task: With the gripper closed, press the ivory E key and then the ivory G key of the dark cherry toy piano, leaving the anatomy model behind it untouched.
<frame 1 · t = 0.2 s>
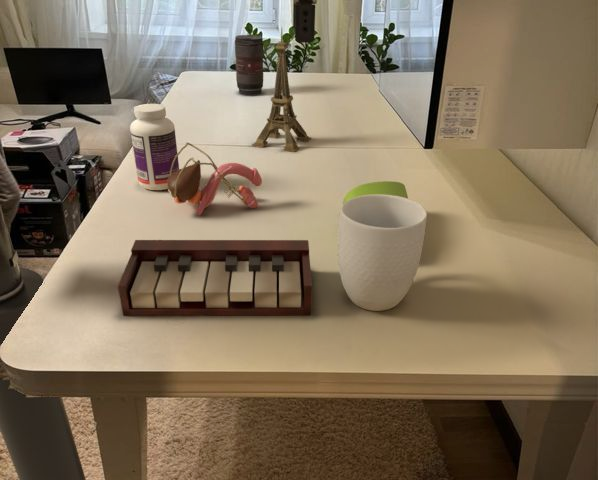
hand: (303, 35, 71), 31 cm above the table, tool pointing down, fingers open, 8 cm apart
anatomy model: (217, 208, 108), on the table
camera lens: (250, 93, 176), on the table
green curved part: (380, 237, 99), on the table
key E: (195, 280, 81), point 3 cm above the table, slide at 0.0 cm, touching piano
piano: (220, 293, 83), on the table
pill bottle: (160, 185, 116), on the table
key G: (242, 280, 81), point 3 cm above the table, slide at 0.0 cm, touching piano
mug: (377, 296, 84), on the table
eiffel tower: (282, 143, 139), on the table
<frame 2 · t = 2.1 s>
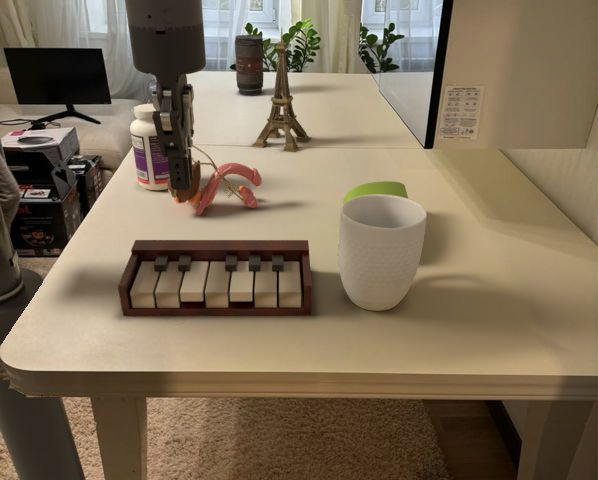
hand: (182, 183, 70), 17 cm above the table, tool pointing down, fingers closed
nothing on the table moved.
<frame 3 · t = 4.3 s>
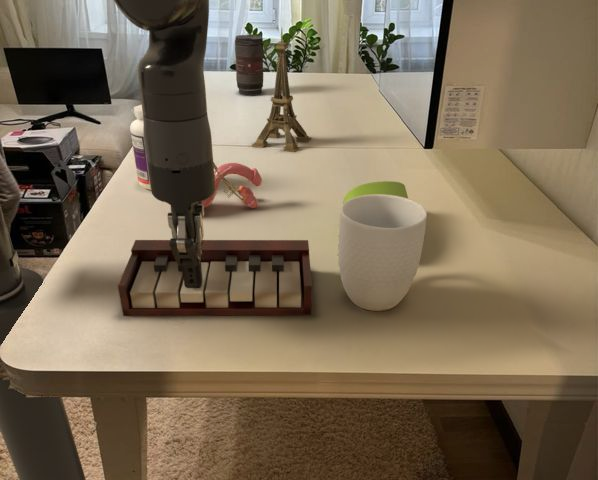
hand: (193, 285, 79), 3 cm above the table, tool pointing down, fingers closed
key E: (195, 281, 81), point 3 cm above the table, slide at -0.1 cm, touching gripper
everything else where it was.
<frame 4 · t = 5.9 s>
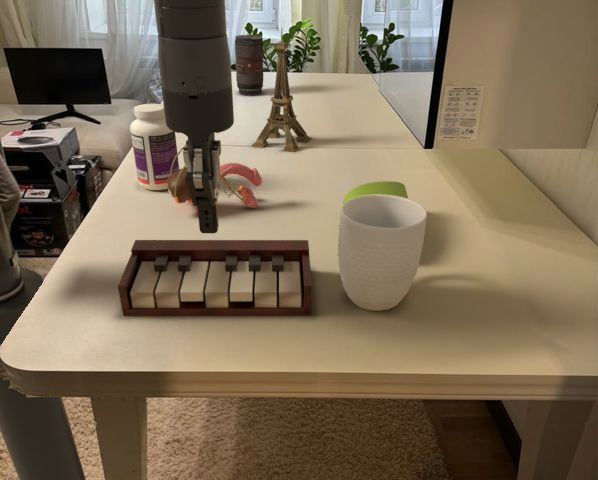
hand: (209, 230, 74), 11 cm above the table, tool pointing down, fingers closed
key E: (195, 280, 81), point 3 cm above the table, slide at 0.0 cm, touching piano
everything else where it was.
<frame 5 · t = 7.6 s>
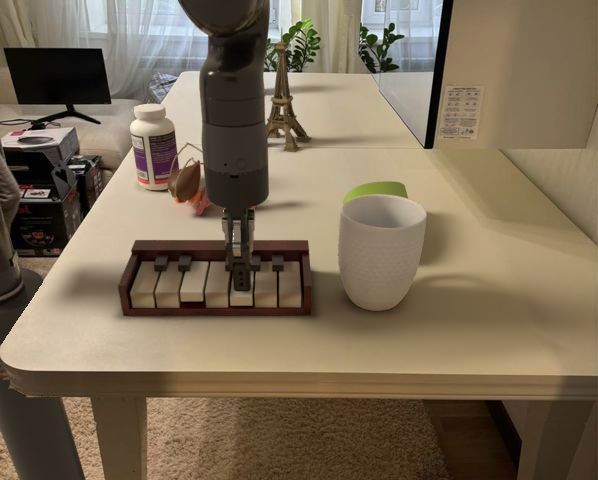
hand: (242, 288, 79), 3 cm above the table, tool pointing down, fingers closed
key G: (242, 284, 81), point 2 cm above the table, slide at -0.7 cm, touching gripper
everything else where it was.
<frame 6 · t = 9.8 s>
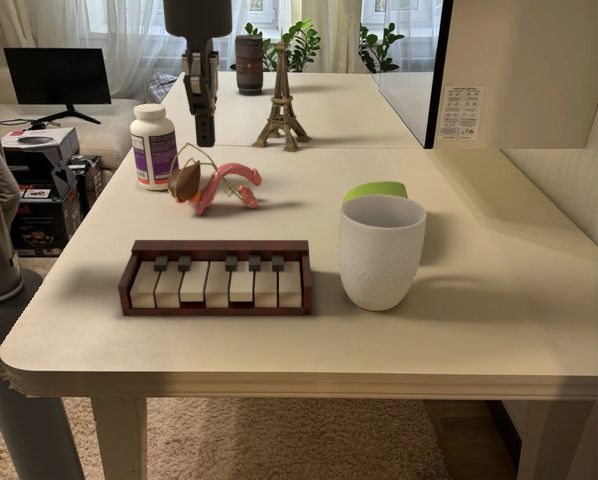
hand: (206, 145, 75), 19 cm above the table, tool pointing down, fingers closed
key G: (242, 280, 81), point 3 cm above the table, slide at 0.0 cm
everything else where it was.
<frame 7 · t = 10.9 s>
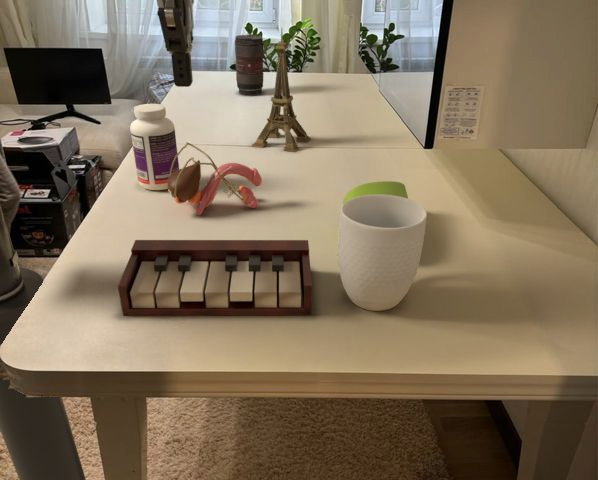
hand: (183, 85, 77), 25 cm above the table, tool pointing down, fingers closed
key G: (242, 280, 81), point 3 cm above the table, slide at 0.0 cm, touching piano
everything else where it was.
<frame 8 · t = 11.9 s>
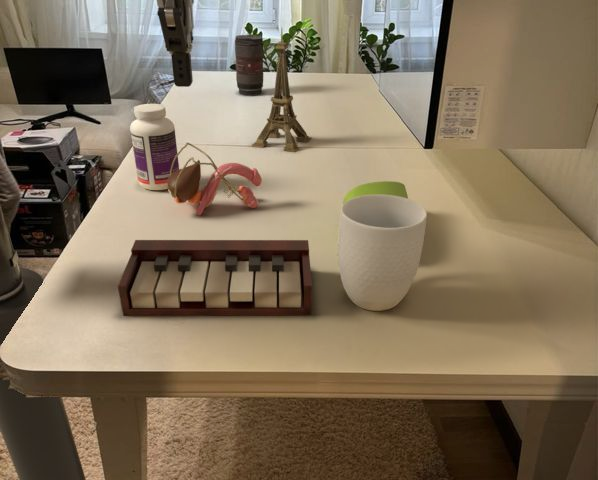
hand: (183, 85, 77), 25 cm above the table, tool pointing down, fingers closed
key G: (242, 280, 81), point 3 cm above the table, slide at 0.0 cm
everything else where it was.
at the end: key E pushed in 1.0 cm at the most during the clip, back to where it started at the end; key G pushed in 0.9 cm at the most during the clip, back to where it started at the end; anatomy model moved 0.2 cm from its start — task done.
